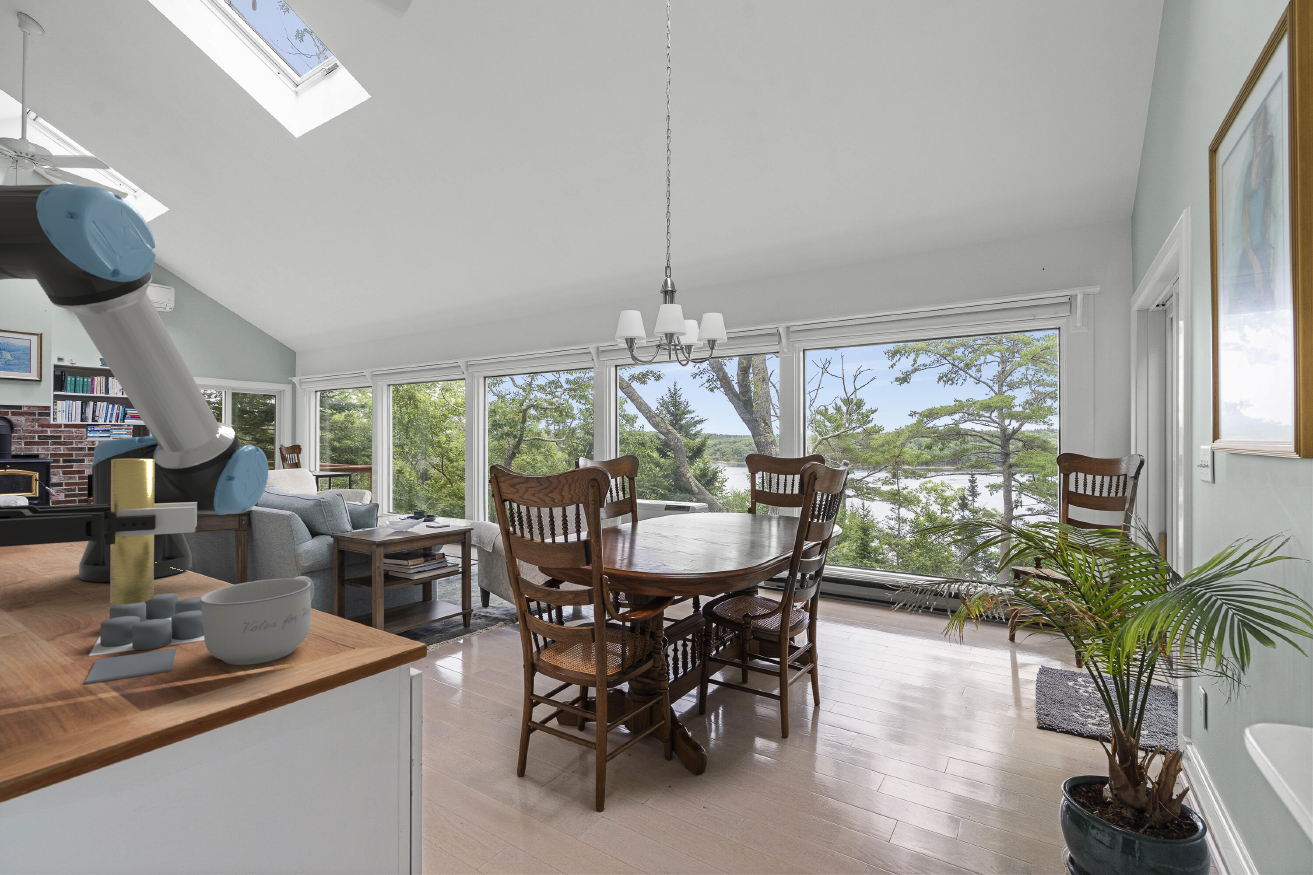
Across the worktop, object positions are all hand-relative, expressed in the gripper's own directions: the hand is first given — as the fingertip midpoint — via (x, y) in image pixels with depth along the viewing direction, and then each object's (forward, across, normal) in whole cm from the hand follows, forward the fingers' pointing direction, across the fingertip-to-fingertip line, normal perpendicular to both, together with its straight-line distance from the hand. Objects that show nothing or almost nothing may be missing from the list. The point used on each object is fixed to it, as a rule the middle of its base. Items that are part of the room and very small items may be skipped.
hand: (195, 516), depth 72 cm
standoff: (-5, 0, -9) cm, 10 cm away
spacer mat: (-4, -14, -16) cm, 22 cm away
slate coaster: (-5, 0, -16) cm, 17 cm away
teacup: (+7, +1, -16) cm, 18 cm away
